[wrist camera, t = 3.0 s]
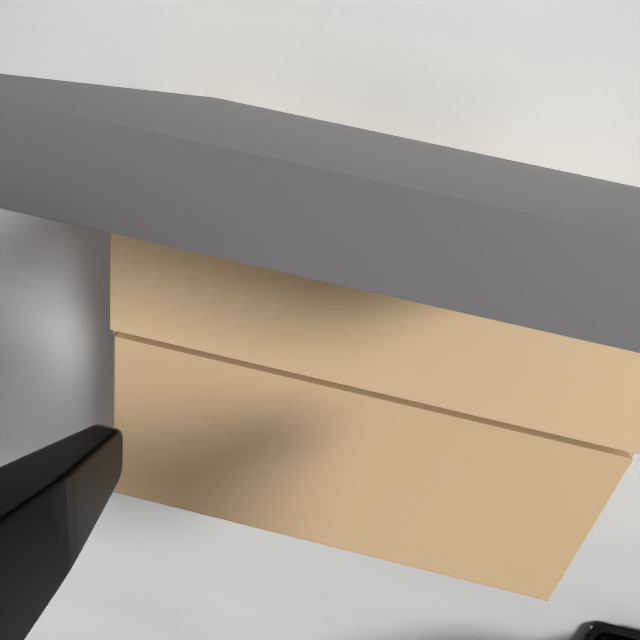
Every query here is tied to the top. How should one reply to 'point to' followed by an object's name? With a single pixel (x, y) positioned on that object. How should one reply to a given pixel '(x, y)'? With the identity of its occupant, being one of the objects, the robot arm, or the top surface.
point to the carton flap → (345, 251)
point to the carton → (356, 467)
